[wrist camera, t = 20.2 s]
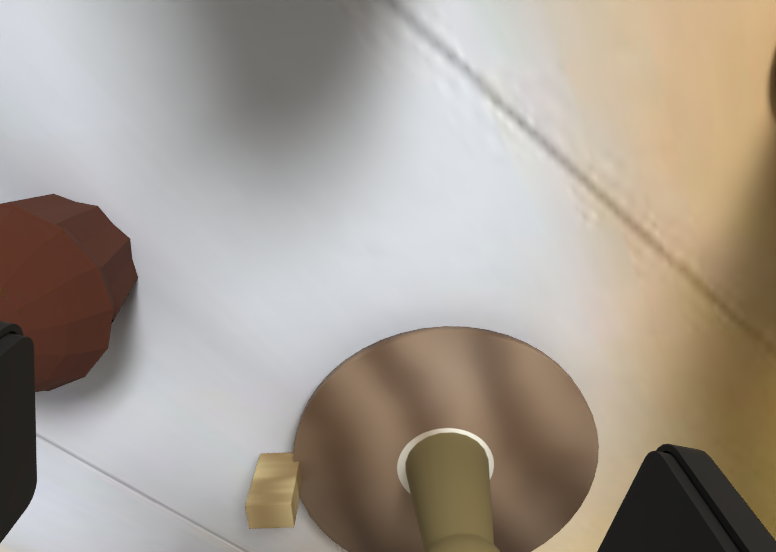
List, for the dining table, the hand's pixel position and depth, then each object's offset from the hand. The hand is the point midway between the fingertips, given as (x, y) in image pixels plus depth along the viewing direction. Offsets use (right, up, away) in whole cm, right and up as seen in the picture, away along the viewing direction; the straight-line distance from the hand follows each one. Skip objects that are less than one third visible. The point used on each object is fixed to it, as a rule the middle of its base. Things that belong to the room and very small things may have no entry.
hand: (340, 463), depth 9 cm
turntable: (+4, -11, +33) cm, 35 cm away
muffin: (-20, +4, +29) cm, 36 cm away
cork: (+5, -11, +32) cm, 34 cm away
